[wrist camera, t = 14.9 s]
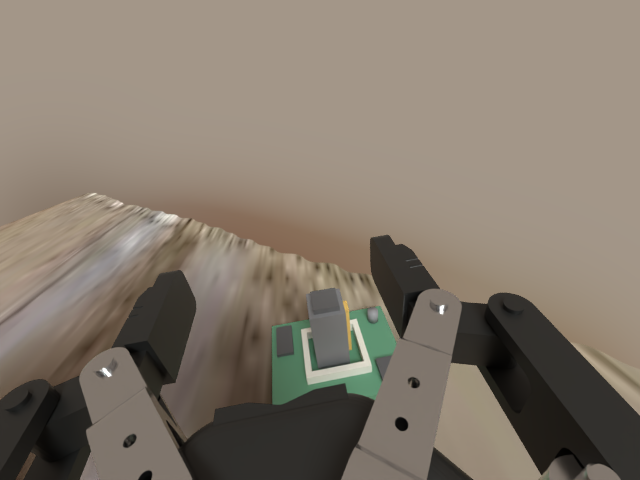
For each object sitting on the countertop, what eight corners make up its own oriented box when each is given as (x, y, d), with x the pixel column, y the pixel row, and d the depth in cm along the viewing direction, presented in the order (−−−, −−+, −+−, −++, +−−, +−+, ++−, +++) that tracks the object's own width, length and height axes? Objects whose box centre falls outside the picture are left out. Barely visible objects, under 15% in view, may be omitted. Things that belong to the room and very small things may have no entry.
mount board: (274, 420, 36) (269, 407, 34) (273, 331, 48) (269, 317, 46) (414, 391, 37) (416, 377, 36) (380, 311, 49) (380, 297, 47)
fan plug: (318, 369, 40) (308, 314, 34) (314, 342, 44) (305, 289, 38) (354, 363, 40) (350, 307, 34) (347, 337, 44) (343, 283, 38)
